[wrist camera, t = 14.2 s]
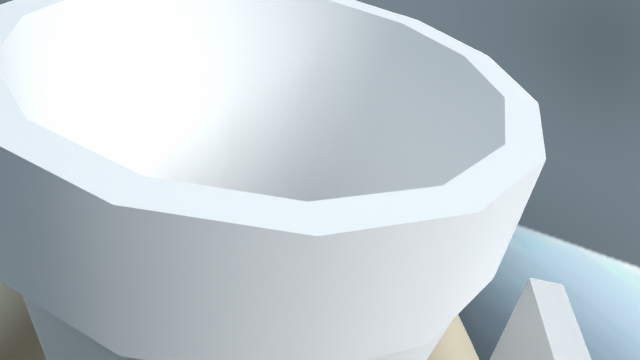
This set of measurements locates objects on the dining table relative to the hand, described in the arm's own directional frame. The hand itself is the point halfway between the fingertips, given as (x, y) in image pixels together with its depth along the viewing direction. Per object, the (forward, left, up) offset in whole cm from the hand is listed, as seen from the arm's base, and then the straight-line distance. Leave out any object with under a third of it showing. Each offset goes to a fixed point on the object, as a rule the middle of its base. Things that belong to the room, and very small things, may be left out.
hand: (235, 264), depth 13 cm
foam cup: (0, +1, -8) cm, 8 cm away
